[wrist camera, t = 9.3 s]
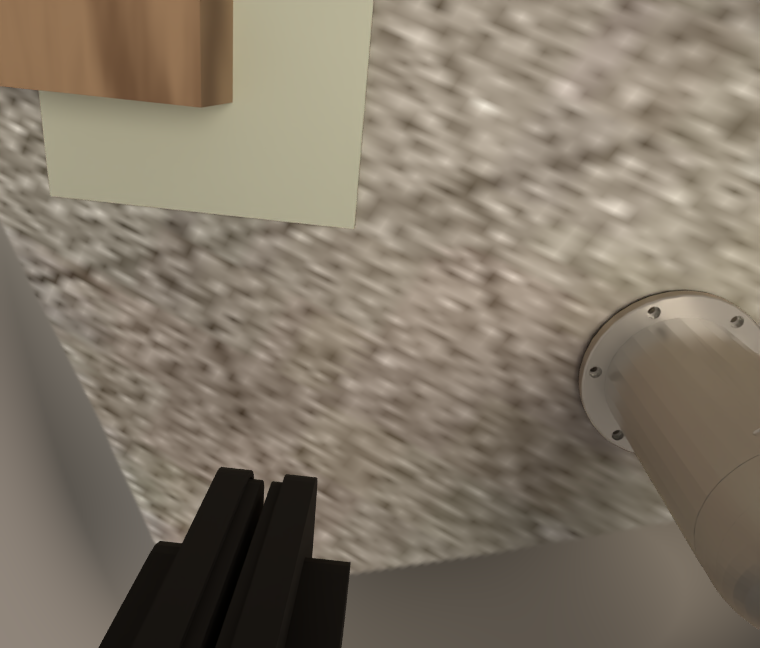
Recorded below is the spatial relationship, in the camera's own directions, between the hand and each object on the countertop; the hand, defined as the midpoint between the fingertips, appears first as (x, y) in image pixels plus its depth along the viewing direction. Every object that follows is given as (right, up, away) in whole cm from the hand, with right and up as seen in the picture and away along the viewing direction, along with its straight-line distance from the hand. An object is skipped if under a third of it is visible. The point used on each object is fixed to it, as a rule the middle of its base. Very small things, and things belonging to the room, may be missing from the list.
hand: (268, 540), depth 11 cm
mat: (-9, +20, +26) cm, 34 cm away
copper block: (-7, +19, +22) cm, 30 cm away
